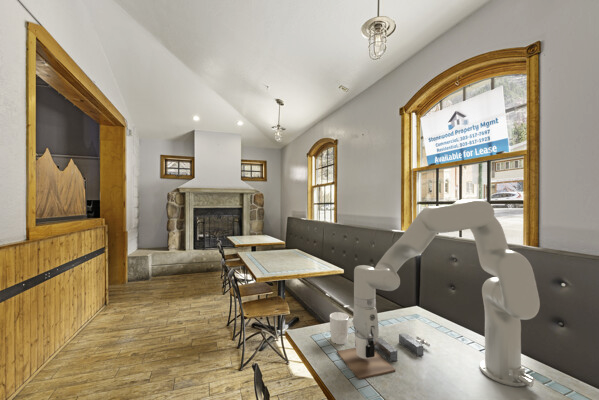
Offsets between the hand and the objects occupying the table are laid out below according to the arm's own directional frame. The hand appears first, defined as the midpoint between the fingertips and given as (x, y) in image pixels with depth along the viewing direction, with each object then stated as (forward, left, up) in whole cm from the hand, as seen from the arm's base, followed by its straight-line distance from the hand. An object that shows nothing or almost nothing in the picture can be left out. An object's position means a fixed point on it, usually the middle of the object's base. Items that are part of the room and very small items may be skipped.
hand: (364, 351), depth 95 cm
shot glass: (0, 0, -1) cm, 1 cm away
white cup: (+16, +2, -4) cm, 17 cm away
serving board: (0, 0, -4) cm, 4 cm away
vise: (+2, -18, -4) cm, 19 cm away
